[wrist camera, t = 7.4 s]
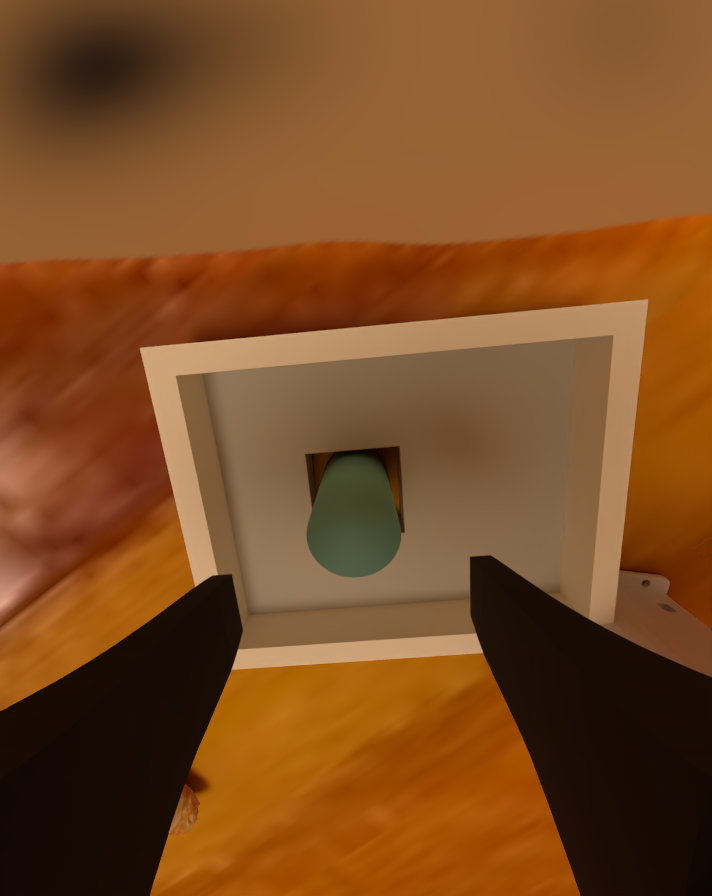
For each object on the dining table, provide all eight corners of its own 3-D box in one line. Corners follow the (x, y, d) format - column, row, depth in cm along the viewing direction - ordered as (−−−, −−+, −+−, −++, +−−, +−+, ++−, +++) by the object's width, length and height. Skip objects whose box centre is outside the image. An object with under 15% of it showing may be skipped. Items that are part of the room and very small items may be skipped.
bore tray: (577, 314, 18) (648, 299, 13) (560, 587, 22) (611, 644, 17) (192, 351, 18) (139, 347, 14) (243, 609, 22) (214, 670, 18)
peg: (391, 499, 20) (408, 568, 13) (331, 510, 20) (318, 584, 14) (380, 440, 19) (392, 483, 13) (318, 452, 20) (296, 501, 13)
